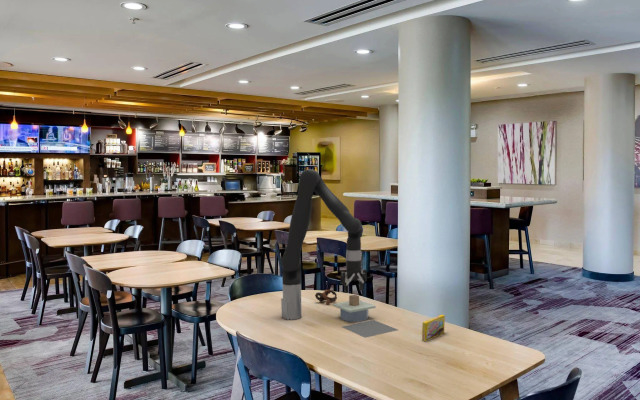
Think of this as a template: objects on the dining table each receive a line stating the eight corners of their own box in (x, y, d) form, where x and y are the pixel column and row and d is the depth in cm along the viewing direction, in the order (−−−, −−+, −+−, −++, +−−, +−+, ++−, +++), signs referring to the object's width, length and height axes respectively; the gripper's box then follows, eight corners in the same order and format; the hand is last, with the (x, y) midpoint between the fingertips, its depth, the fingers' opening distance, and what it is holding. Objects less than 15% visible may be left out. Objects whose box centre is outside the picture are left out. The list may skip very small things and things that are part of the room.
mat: (364, 338, 230) (364, 337, 230) (341, 327, 246) (341, 326, 246) (398, 331, 240) (398, 329, 240) (373, 321, 256) (373, 319, 256)
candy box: (425, 342, 224) (425, 323, 224) (421, 341, 226) (421, 322, 225) (445, 332, 236) (444, 314, 236) (440, 332, 238) (440, 313, 237)
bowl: (351, 324, 252) (350, 311, 251) (336, 317, 263) (336, 306, 262) (373, 319, 258) (372, 307, 258) (357, 313, 269) (357, 302, 269)
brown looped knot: (334, 301, 298) (338, 290, 294) (334, 312, 290) (338, 301, 286) (313, 296, 297) (317, 285, 293) (312, 307, 289) (316, 296, 285)
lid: (350, 312, 250) (350, 301, 249) (333, 305, 263) (333, 295, 262) (375, 307, 257) (375, 296, 257) (358, 301, 270) (357, 290, 270)
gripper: (361, 256, 265) (361, 288, 266) (337, 259, 258) (337, 291, 259) (370, 258, 259) (370, 291, 260) (345, 261, 252) (345, 295, 253)
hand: (353, 291), depth 260 cm, fingers open, 8 cm apart
